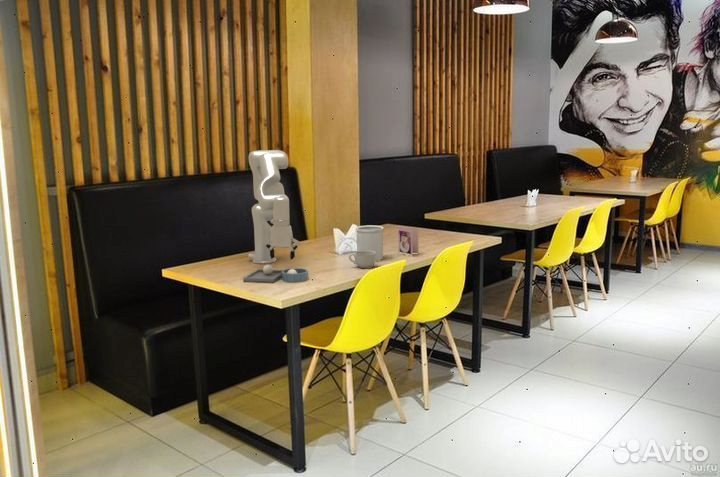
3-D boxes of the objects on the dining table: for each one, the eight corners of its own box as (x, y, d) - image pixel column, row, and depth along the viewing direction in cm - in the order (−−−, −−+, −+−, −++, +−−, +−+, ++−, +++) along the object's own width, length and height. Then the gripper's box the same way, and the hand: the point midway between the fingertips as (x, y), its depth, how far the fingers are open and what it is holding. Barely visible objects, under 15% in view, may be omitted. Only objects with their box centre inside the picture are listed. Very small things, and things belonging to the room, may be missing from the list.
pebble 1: (261, 275, 308) (261, 265, 308) (265, 273, 313) (264, 263, 312) (271, 275, 307) (270, 266, 307) (274, 273, 312) (274, 264, 311)
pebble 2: (287, 281, 299) (284, 271, 299) (290, 279, 304) (287, 269, 303) (296, 279, 298) (293, 269, 298) (299, 276, 303) (296, 267, 302)
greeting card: (397, 253, 360) (397, 227, 358) (407, 252, 365) (407, 226, 362) (411, 257, 352) (411, 230, 349) (420, 255, 356) (421, 228, 354)
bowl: (278, 281, 299) (278, 273, 298) (287, 275, 311) (286, 267, 310) (303, 282, 296) (303, 274, 296) (311, 276, 308) (310, 268, 307)
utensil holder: (381, 262, 338) (381, 229, 335) (353, 261, 341) (353, 229, 338) (385, 256, 353) (385, 225, 350) (359, 256, 356) (359, 225, 352)
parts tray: (243, 281, 300) (243, 277, 299) (257, 273, 317) (257, 269, 316) (273, 283, 296) (273, 279, 296) (286, 274, 314) (285, 270, 313)
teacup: (375, 264, 333) (375, 249, 332) (376, 269, 323) (376, 253, 321) (348, 265, 333) (348, 250, 331) (349, 269, 322) (348, 254, 321)
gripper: (261, 223, 298) (262, 259, 302) (296, 225, 295) (297, 261, 299) (266, 221, 306) (267, 255, 309) (301, 222, 302) (302, 257, 306)
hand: (282, 258), depth 304 cm, fingers open, 9 cm apart
